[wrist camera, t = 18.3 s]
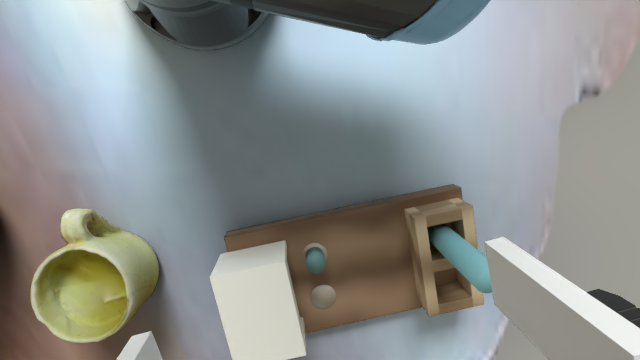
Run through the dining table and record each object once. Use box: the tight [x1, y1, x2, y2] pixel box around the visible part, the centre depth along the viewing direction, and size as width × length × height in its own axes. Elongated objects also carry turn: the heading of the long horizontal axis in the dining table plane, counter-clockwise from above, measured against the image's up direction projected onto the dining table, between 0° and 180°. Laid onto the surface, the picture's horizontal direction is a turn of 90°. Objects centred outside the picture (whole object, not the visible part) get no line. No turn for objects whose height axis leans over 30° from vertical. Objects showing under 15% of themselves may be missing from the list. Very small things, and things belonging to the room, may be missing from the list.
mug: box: [30, 209, 159, 343], centre depth 39 cm, size 12×10×10 cm
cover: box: [210, 240, 306, 360], centre depth 39 cm, size 10×7×6 cm
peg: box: [427, 223, 492, 293], centre depth 37 cm, size 2×2×12 cm
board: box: [224, 184, 484, 333], centre depth 42 cm, size 13×26×6 cm, turn 102°
